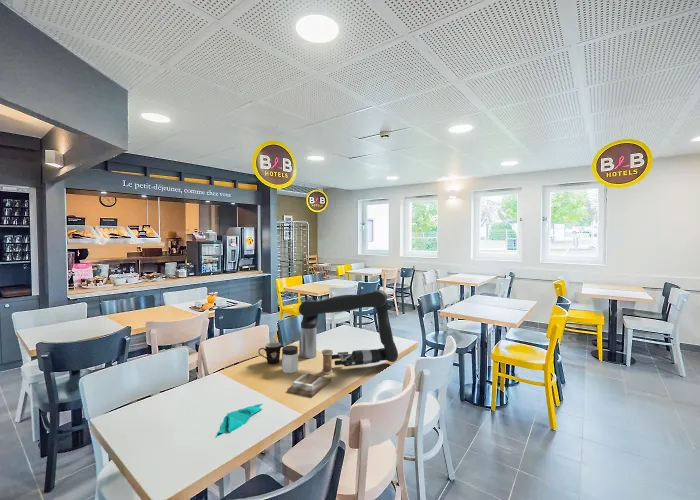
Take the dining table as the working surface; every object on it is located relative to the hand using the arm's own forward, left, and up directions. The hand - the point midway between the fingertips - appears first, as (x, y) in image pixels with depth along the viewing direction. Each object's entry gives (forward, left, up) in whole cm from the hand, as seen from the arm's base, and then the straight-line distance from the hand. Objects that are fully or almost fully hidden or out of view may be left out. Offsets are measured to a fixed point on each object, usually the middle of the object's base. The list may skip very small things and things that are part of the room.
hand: (332, 360), depth 177 cm
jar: (-21, -8, -6) cm, 23 cm away
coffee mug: (-37, -3, -6) cm, 38 cm away
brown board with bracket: (-2, -20, -6) cm, 21 cm away
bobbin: (-2, -2, -6) cm, 7 cm away
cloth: (-13, -56, -7) cm, 58 cm away
